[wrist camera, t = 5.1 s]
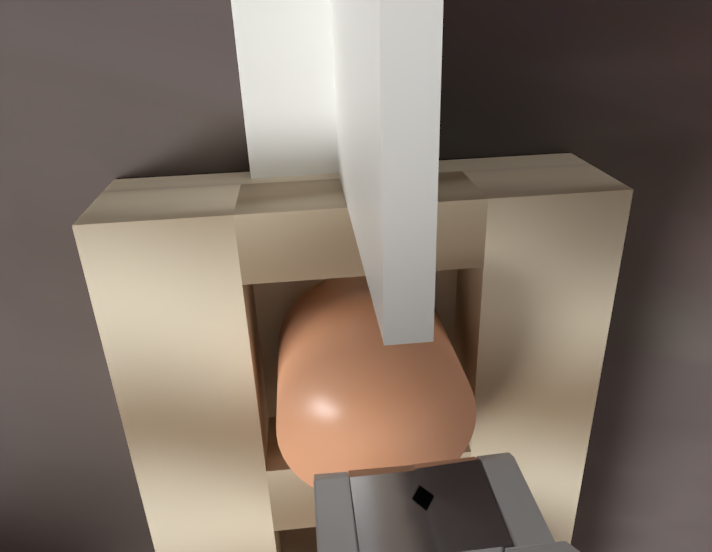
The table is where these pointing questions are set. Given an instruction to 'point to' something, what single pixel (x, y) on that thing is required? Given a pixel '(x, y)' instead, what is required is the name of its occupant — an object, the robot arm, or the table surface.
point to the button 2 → (364, 388)
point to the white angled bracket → (355, 129)
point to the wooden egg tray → (310, 267)
